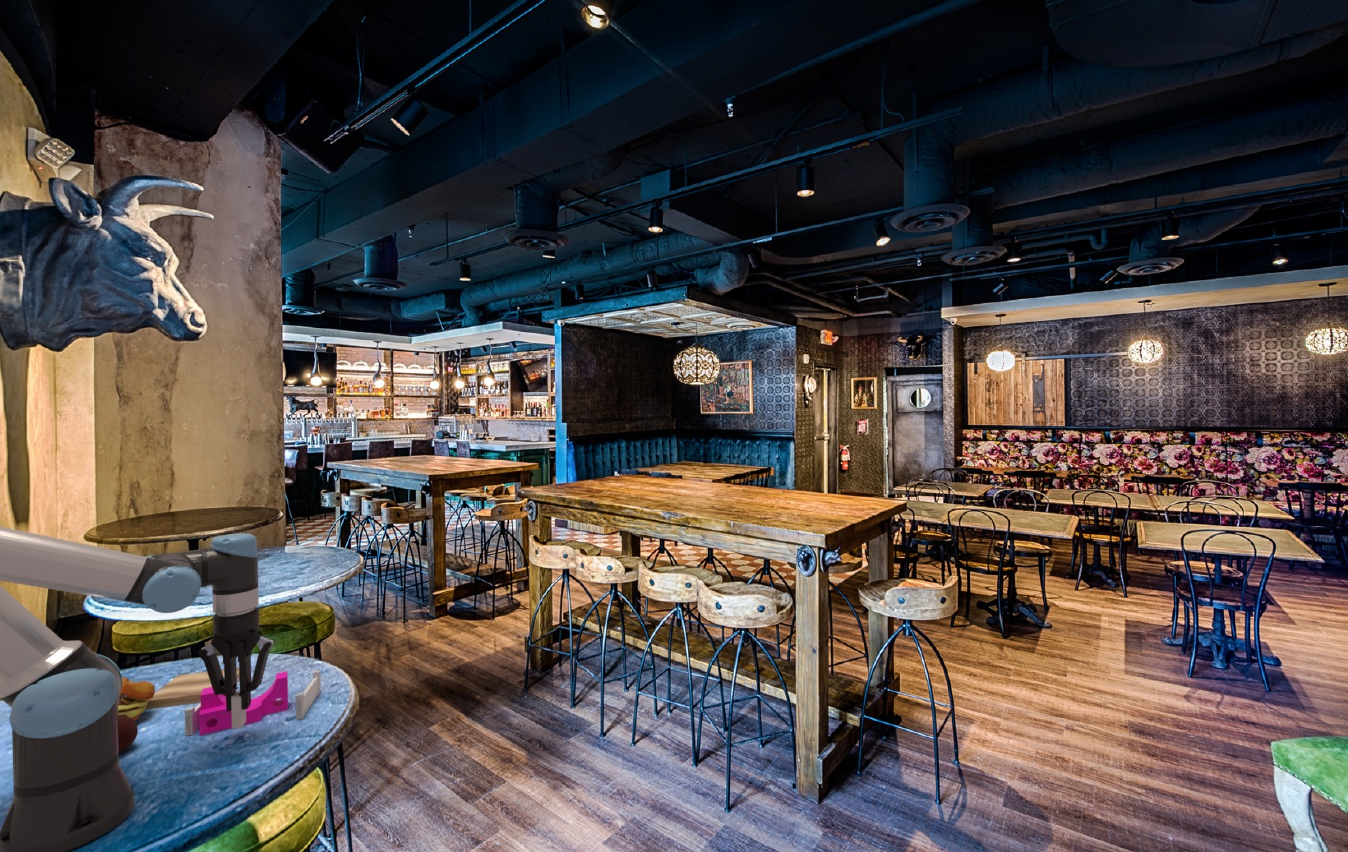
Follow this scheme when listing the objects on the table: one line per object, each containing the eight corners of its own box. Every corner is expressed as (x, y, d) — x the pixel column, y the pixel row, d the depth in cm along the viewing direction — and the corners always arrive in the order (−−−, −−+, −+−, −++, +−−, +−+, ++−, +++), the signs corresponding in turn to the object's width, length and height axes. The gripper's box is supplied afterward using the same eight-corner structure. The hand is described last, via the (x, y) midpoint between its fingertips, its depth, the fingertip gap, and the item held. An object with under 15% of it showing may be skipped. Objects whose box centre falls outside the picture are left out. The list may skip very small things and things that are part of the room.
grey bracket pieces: (302, 718, 124) (301, 694, 124) (185, 735, 118) (184, 710, 118) (320, 691, 136) (320, 669, 136) (215, 705, 130) (214, 683, 130)
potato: (87, 769, 107) (86, 731, 107) (83, 754, 112) (82, 718, 112) (141, 751, 112) (140, 715, 112) (135, 737, 117) (134, 703, 117)
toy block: (199, 736, 118) (198, 700, 118) (203, 723, 123) (203, 688, 123) (287, 715, 126) (286, 681, 126) (288, 703, 131) (287, 671, 131)
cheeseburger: (62, 726, 119) (86, 674, 122) (123, 724, 128) (144, 675, 131) (89, 733, 115) (113, 678, 119) (150, 730, 124) (170, 680, 128)
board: (219, 700, 133) (218, 691, 133) (145, 709, 129) (144, 700, 129) (244, 674, 146) (244, 666, 146) (178, 682, 142) (178, 674, 142)
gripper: (279, 601, 123) (282, 711, 123) (207, 608, 119) (210, 721, 120) (266, 612, 116) (268, 728, 116) (188, 620, 112) (191, 740, 112)
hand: (239, 724), depth 118 cm, fingers closed
